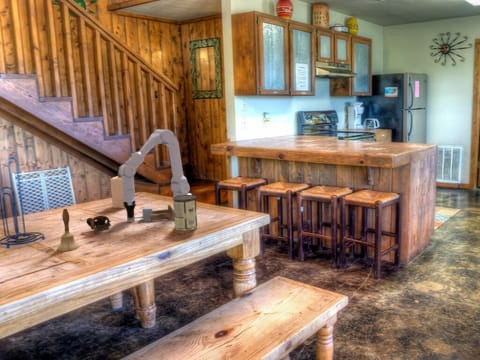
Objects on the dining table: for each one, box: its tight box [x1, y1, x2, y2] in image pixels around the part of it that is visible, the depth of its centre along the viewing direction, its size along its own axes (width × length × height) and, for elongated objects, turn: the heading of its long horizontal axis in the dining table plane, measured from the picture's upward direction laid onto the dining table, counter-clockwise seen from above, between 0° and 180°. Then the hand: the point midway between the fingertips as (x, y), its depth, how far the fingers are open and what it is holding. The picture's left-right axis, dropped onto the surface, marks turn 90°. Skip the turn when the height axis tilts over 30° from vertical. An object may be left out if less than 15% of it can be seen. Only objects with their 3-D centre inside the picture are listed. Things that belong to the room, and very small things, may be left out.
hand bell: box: [56, 208, 80, 252], centre depth 174 cm, size 8×8×16 cm
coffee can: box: [172, 195, 198, 232], centre depth 198 cm, size 10×10×14 cm
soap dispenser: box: [109, 166, 126, 209], centre depth 246 cm, size 13×9×22 cm
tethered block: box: [126, 206, 153, 222], centre depth 214 cm, size 12×4×6 cm, turn 106°
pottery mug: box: [86, 214, 112, 235], centre depth 197 cm, size 12×10×8 cm
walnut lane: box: [150, 204, 174, 222], centre depth 217 cm, size 10×9×5 cm
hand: (130, 216), depth 213 cm, fingers closed on tethered block, 3 cm apart
